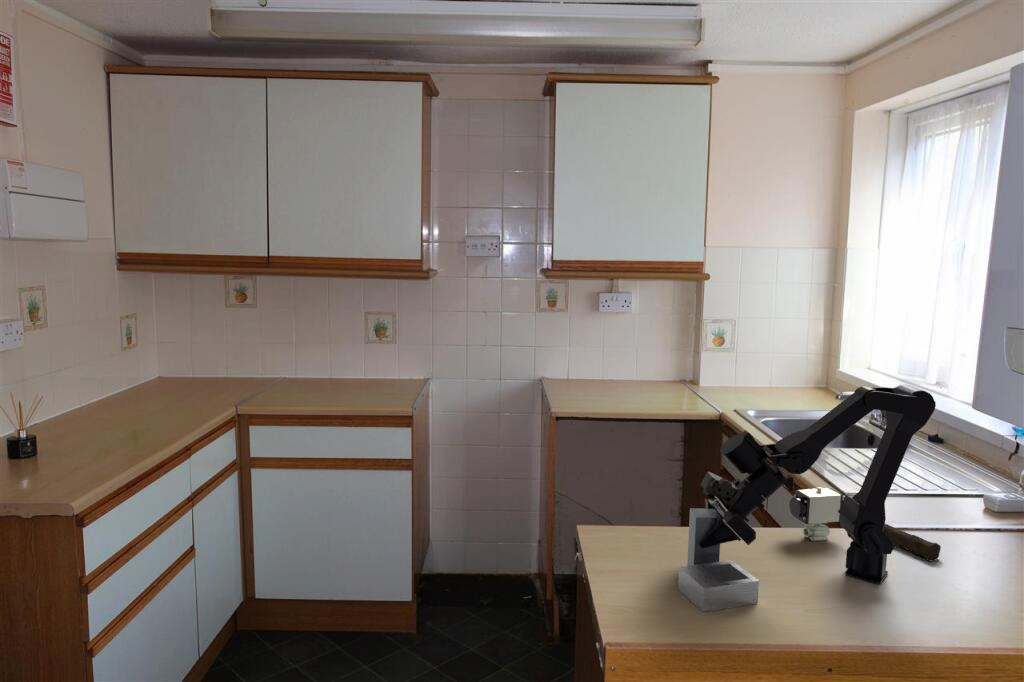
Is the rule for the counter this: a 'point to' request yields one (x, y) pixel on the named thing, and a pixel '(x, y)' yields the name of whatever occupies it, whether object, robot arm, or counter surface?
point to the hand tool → (912, 543)
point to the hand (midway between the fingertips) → (697, 541)
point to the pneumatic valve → (816, 510)
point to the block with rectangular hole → (718, 585)
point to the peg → (701, 536)
